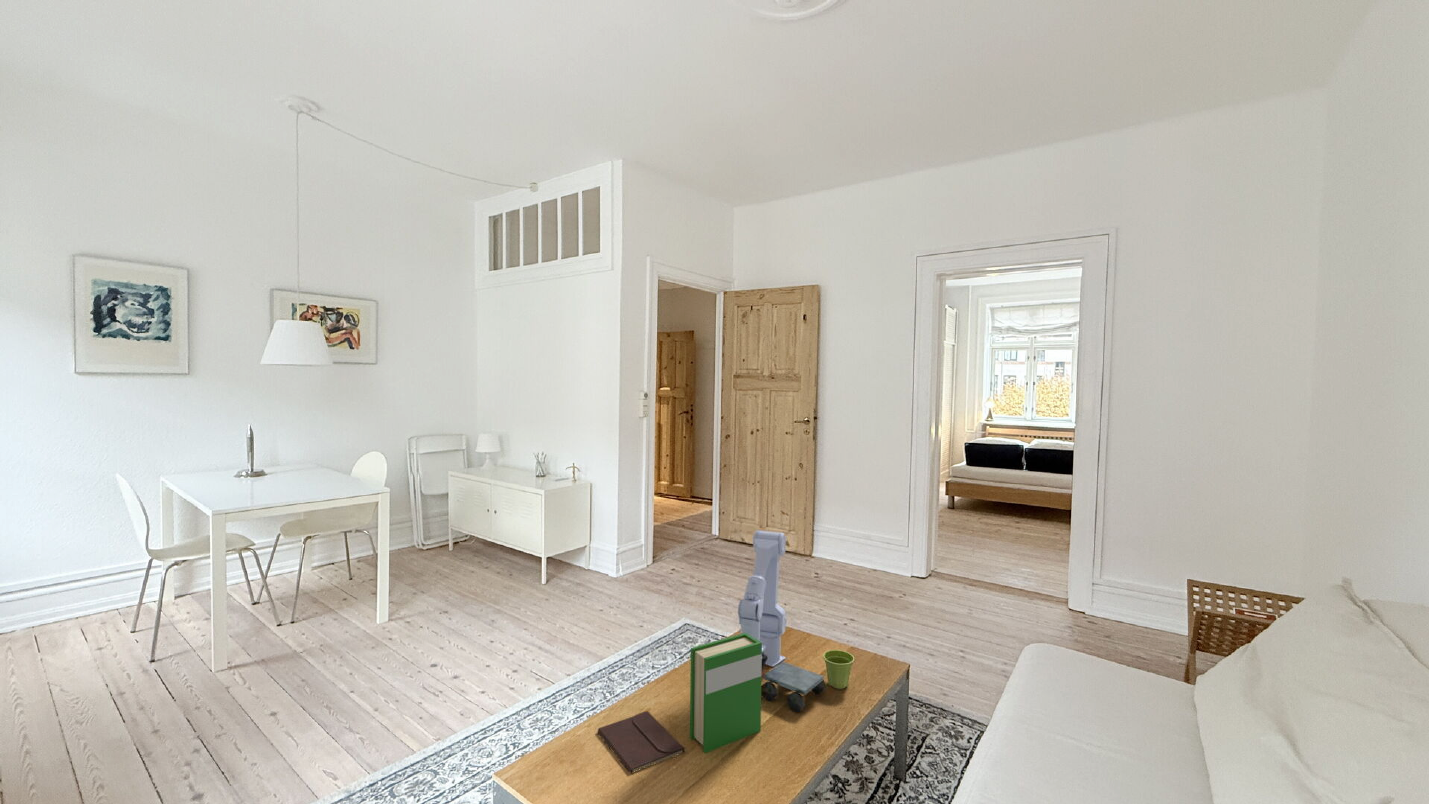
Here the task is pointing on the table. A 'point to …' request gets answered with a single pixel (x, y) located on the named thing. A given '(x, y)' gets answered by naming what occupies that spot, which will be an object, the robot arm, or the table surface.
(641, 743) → the notebook
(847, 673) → the plant pot
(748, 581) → the robot arm
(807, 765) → the table surface
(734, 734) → the hardback book
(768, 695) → the trolley
